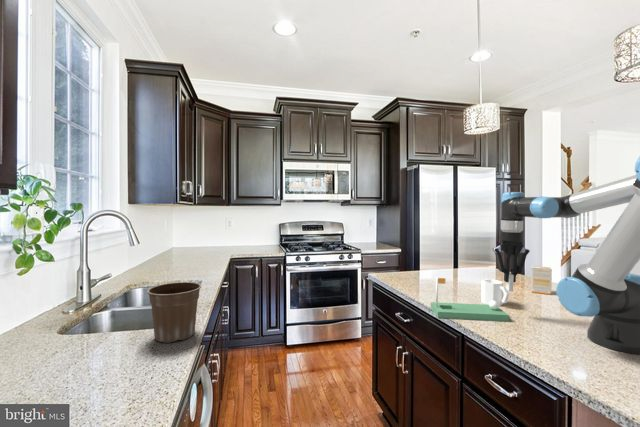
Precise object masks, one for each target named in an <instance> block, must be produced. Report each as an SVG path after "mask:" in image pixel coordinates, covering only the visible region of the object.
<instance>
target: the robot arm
mask: <svg viewBox="0 0 640 427" xmlns="http://www.w3.org/2000/svg"><path fill="white" fill-rule="evenodd" d="M634 172H635V175H631V176H627V177H624V178H621V179H617V180H615V181H612V182H611V181H610V182H607V183H605V184H602V185H598V186H594V187H591V188H587V189H584V190H581V191H578V192H574V193H571V194H568V195H565V196H556V197H555V196H527V197H525V193H524V192H522V191H507V192H503V193H502V196H501V202H500V204H501V205H500V206H501V207H500V208H501V212H500V230H501V231H500V233H499V234H500V236H499V237H500V238H499V240H500V242H499V244H498V246H496V247H493V248H492V251H493V252H494V255H495V258H496V263H497V267H498V271H499V272H500V273H502V274H503V282H505V288H506V290H507V291H508V292H514V283H516V280H517V276H518V274H521V273H522V272H523V268H524V265H525V262H526V258H527V256H528V254H530V249H528V248H526V247H524V243H523V241H524V240H523V237H524V235H523V234H524V233H523V231H524V218H537V219H551V218H553V219H554V218H564V219H570V218H577V217H578V216H579V215H581V214H584V213H588V212H589V213H590V212H594V211H598V210H603V209H606V208H611V207H615V206H619V205H624V204H627V206H626V207H625V208H624V209H623V210H622V213H621V214H620V216H619V217H618V219H617V220H616V221H615V223H614V225H613V226H612V228H611V229H610V230H609V232H608V234H607V235H606V237H605V238H604V239H603V241H602V242H601V244H600V245H599V247H598V249H597V250H596V251H595V253H594V254H593V256H592V257H591V259H590V260H589V261H588V263H583V264H579V266H577V268H576V269H575V271H574V273H573V274H572V275H571V276H566V277H565V278H562V279H561V280H559V281H558V282H557V285H556V292H555V293H556V295H557V297H558V301H559V303H560V304H561V305H562V307H563V308H564V309H565V310H566V311H568V312H569V313H571V314H573V315H575V316H578V317H587V318H588V317H589V318H592V320H591V322H590V324H589V327H588V328H587V330H586V331H587V333H586V336H587V339H589V341H590V342H592V343H595V344H597V345H599V346H600V347H601V346H602V347H604V348H606V349H611V350H613V351H618V352H621V353H628V354H635V355H640V275H639V274H635V273H631V271H632V270H633V269H634V267H636V265H637V263H638V262H639V261H640V156H639V157H638V158H637V159H636V162H635V165H634ZM501 252H502V253H503V256H502V253H501ZM519 253H520V254H519ZM502 257H503V258H502Z"/></svg>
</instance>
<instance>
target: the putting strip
mask: <svg viewBox="0 0 640 427" xmlns="http://www.w3.org/2000/svg"><path fill="white" fill-rule="evenodd" d="M439 284H441V285H442V284H446V278H445V277H435V301H434V302H433V301H431V302H430V309H431V311H432V312H433V313H434V315H435V316H436V317H437V318H438V319H453V320H455V319H456V320H470V321H471V320H472V321H473V320H474V321H492V322H494V321H495V322H510V315H509V314H508V313H507V312H506V311H504V310H503V309H501V308H500V307H499V308H498V309H496V310H493V309H491V308H490V307H489V305H487V304H484V303H482V304H480V303H477V304H476V303H461V302H460V303H459V302H458V303H457V302H440V301H439Z"/></svg>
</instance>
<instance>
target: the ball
mask: <svg viewBox="0 0 640 427" xmlns="http://www.w3.org/2000/svg"><path fill="white" fill-rule="evenodd" d="M489 307H490V308H491V309H493V310H496V309H498V308H500V306H499V304H498V302H496V301H490V303H489Z"/></svg>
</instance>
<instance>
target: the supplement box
mask: <svg viewBox="0 0 640 427" xmlns="http://www.w3.org/2000/svg"><path fill="white" fill-rule="evenodd" d="M530 275H531V276H530V279H531V280H530V281H531V282H530V290H531V293H533V294H541V295H549V296H550V295H552V275H553V274H552V268H551V267H549V266H537V265H531V270H530Z"/></svg>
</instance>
